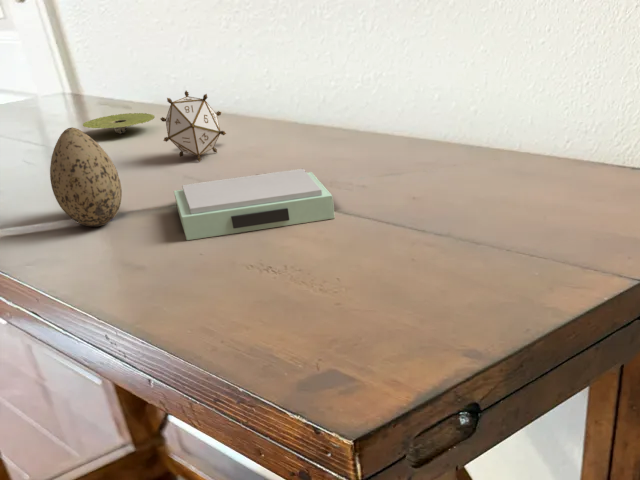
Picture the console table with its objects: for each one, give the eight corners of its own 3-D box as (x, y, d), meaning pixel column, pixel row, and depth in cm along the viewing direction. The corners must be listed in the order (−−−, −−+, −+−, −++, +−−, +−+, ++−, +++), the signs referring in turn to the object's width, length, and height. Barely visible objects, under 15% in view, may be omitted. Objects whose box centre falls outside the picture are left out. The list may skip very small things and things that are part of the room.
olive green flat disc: (72, 136, 131) (68, 123, 130) (131, 122, 137) (128, 110, 136) (111, 144, 125) (107, 130, 123) (171, 129, 131) (168, 115, 130)
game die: (196, 188, 115) (144, 136, 107) (190, 153, 120) (139, 100, 112) (245, 151, 113) (195, 94, 105) (237, 116, 117) (188, 59, 109)
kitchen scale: (187, 241, 85) (180, 211, 83) (178, 212, 93) (172, 185, 92) (335, 219, 88) (332, 190, 86) (314, 193, 97) (310, 166, 95)
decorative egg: (56, 225, 92) (26, 129, 86) (117, 211, 95) (92, 117, 89) (77, 240, 87) (46, 139, 81) (140, 224, 90) (115, 126, 84)
